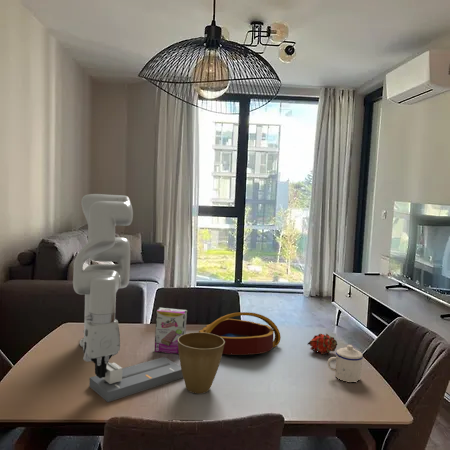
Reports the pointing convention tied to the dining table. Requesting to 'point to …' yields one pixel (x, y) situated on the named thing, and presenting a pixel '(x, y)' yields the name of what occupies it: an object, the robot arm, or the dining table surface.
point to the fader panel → (137, 379)
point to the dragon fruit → (323, 343)
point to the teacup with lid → (347, 364)
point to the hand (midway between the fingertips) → (100, 376)
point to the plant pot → (199, 359)
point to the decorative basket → (244, 334)
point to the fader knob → (113, 373)
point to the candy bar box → (169, 329)
